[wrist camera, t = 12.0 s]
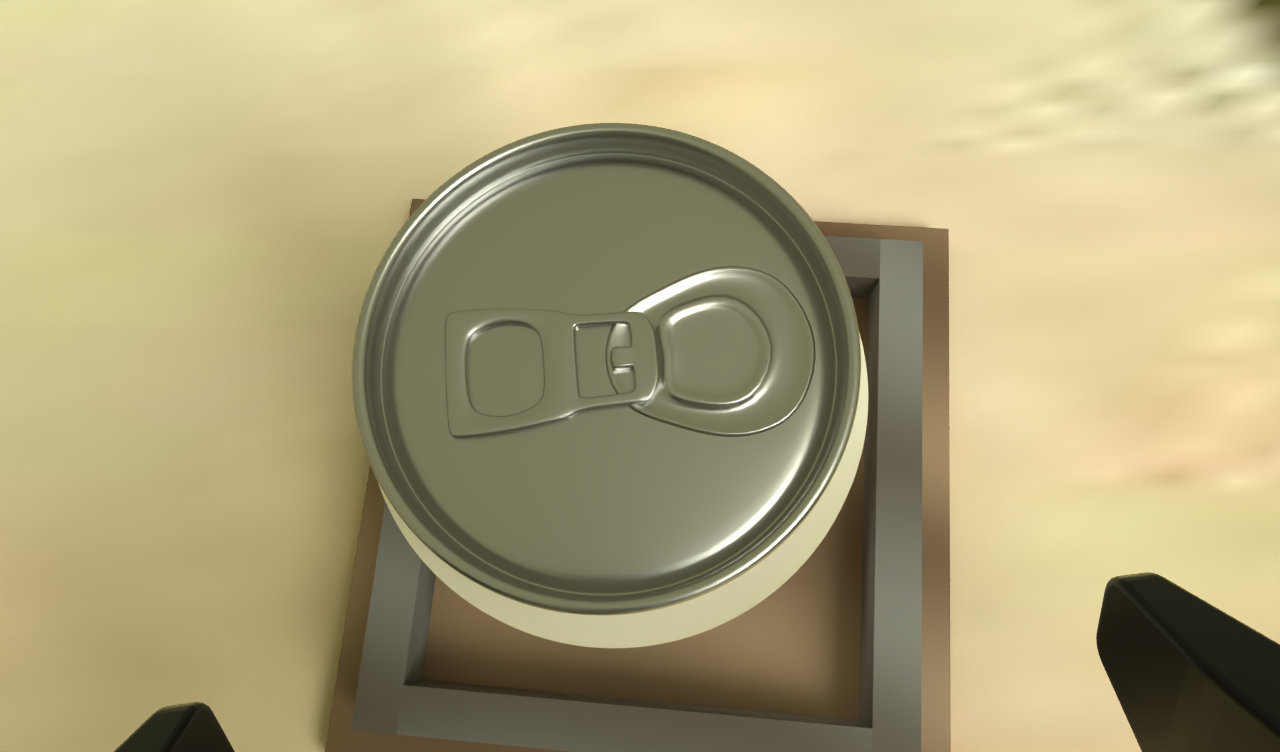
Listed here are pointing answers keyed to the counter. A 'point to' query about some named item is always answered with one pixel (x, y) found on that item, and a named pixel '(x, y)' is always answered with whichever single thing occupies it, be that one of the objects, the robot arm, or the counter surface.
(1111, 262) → the counter surface
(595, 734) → the holder
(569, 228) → the can
